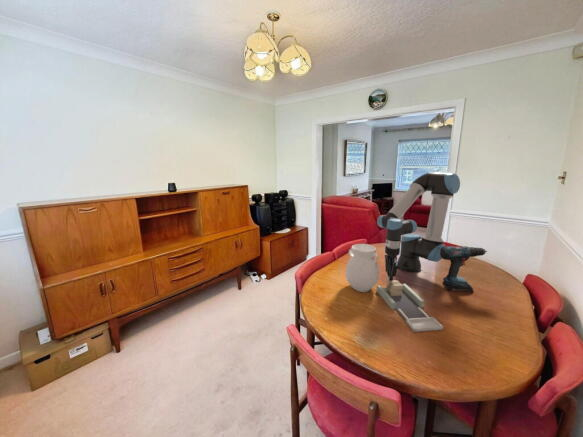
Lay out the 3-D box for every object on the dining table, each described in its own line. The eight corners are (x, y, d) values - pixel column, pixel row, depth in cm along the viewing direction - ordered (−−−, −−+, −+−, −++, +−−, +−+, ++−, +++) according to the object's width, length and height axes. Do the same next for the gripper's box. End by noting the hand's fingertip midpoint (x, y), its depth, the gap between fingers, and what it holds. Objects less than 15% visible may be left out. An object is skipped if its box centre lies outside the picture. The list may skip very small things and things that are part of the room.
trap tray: (405, 321, 114) (405, 318, 114) (432, 319, 115) (433, 316, 114) (414, 331, 107) (414, 328, 107) (442, 329, 108) (443, 326, 108)
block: (386, 290, 141) (386, 280, 139) (396, 289, 141) (397, 280, 140) (391, 296, 135) (392, 286, 133) (401, 295, 135) (402, 285, 134)
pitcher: (383, 286, 145) (386, 246, 140) (369, 299, 132) (371, 255, 127) (354, 277, 158) (356, 240, 152) (339, 288, 145) (340, 248, 139)
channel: (376, 291, 141) (377, 285, 140) (404, 289, 142) (405, 283, 141) (391, 309, 124) (392, 303, 123) (423, 307, 125) (424, 300, 124)
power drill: (485, 293, 136) (492, 250, 130) (439, 289, 141) (444, 248, 135) (477, 285, 144) (483, 244, 139) (433, 282, 149) (438, 243, 143)
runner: (378, 288, 144) (378, 287, 143) (399, 287, 144) (399, 286, 144) (405, 321, 114) (405, 319, 114) (431, 319, 115) (432, 317, 115)
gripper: (381, 243, 143) (378, 280, 148) (391, 251, 130) (388, 291, 136) (393, 242, 143) (390, 280, 149) (405, 250, 131) (401, 291, 136)
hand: (389, 285), depth 142 cm, fingers closed
